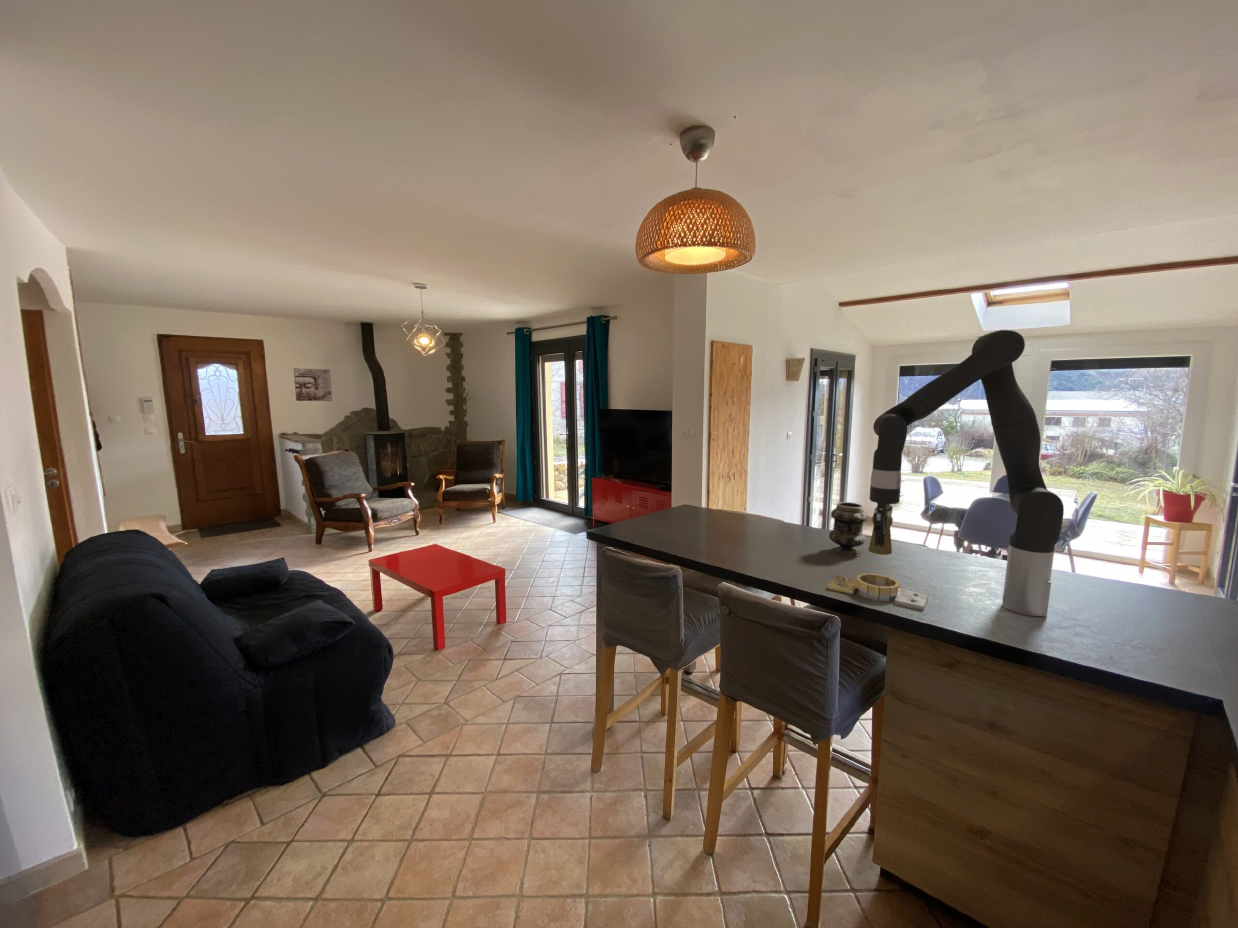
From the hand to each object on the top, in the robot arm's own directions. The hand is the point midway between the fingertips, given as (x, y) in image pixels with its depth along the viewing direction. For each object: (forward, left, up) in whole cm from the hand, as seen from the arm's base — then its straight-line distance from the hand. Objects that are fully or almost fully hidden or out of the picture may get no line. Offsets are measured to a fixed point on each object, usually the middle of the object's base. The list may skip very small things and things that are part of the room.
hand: (880, 543), depth 142 cm
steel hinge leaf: (-3, 0, -15) cm, 15 cm away
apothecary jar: (+17, -34, -15) cm, 41 cm away
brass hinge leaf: (+3, 0, -15) cm, 15 cm away
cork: (0, 0, -2) cm, 2 cm away
